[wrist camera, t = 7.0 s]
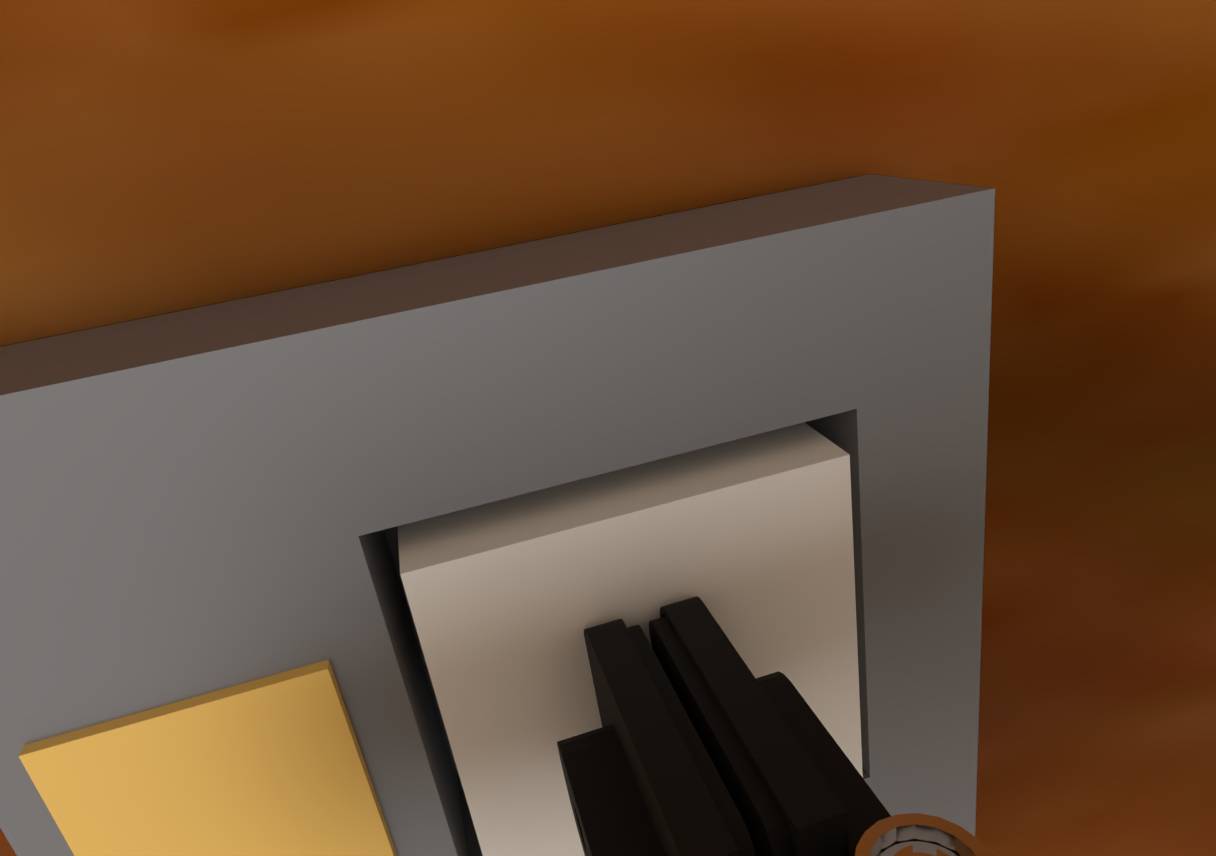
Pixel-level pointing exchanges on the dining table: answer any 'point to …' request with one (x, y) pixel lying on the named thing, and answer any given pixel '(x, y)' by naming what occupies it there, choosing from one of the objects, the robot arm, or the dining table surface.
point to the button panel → (460, 505)
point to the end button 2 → (627, 606)
